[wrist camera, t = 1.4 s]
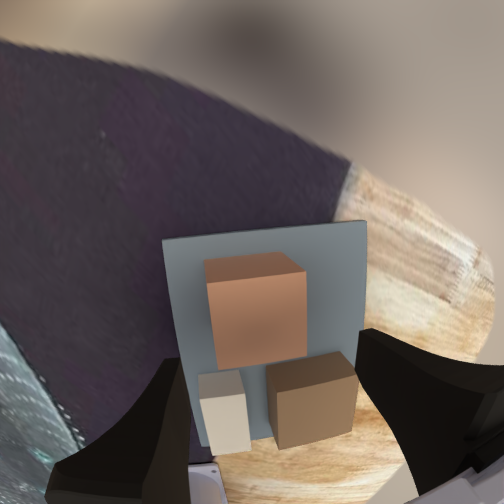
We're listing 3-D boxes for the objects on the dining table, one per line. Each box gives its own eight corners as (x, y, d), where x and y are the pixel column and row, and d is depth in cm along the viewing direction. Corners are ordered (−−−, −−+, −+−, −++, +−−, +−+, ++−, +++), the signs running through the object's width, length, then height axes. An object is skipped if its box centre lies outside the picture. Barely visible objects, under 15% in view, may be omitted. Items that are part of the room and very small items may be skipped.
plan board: (350, 413, 26) (369, 439, 22) (201, 442, 24) (204, 475, 20) (362, 219, 22) (394, 227, 18) (162, 238, 20) (155, 252, 16)
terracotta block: (283, 320, 22) (306, 355, 17) (212, 330, 21) (218, 370, 16) (280, 251, 21) (306, 271, 16) (203, 259, 20) (206, 283, 15)
